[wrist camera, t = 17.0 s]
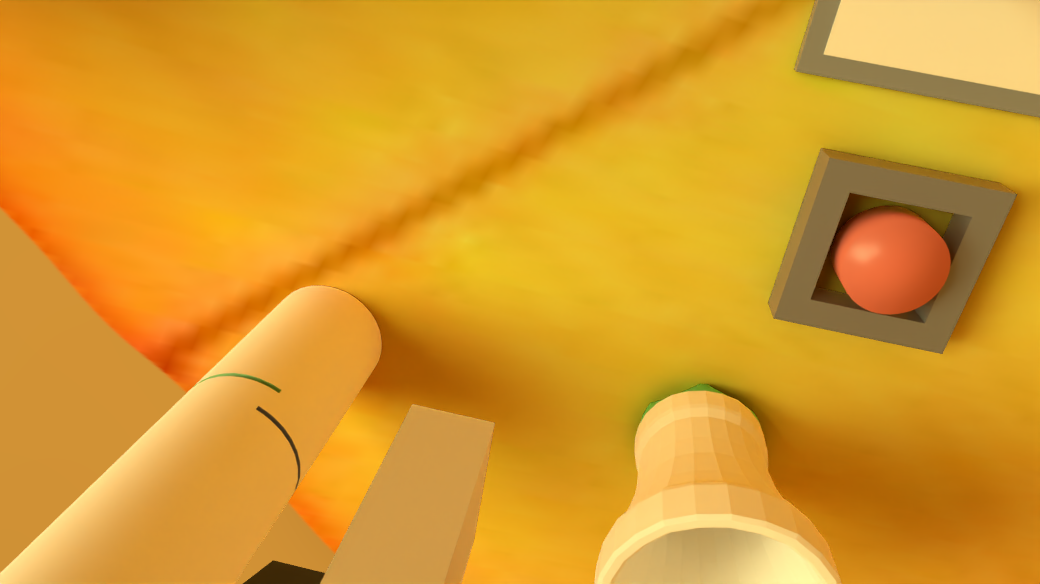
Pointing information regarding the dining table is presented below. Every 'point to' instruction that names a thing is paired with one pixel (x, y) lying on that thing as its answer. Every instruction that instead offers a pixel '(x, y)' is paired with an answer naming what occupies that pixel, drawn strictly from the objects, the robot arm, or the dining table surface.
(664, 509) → the cup
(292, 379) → the cylindrical container
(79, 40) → the dining table surface
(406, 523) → the robot arm
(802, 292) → the button housing
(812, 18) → the clipboard
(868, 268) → the button
